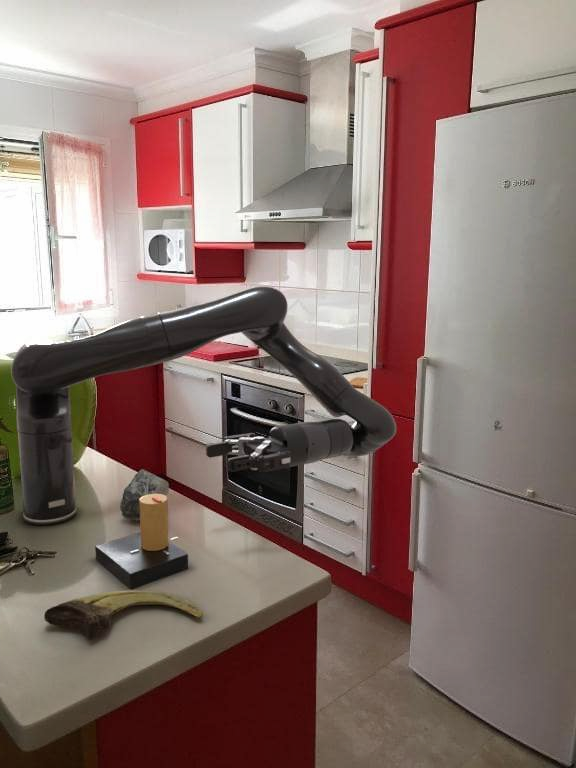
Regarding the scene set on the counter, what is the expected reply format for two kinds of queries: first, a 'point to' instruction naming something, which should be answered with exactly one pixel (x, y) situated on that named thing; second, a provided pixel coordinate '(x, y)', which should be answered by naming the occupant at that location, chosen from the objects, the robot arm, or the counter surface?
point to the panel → (139, 560)
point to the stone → (141, 492)
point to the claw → (109, 609)
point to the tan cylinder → (154, 522)
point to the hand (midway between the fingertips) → (217, 458)
